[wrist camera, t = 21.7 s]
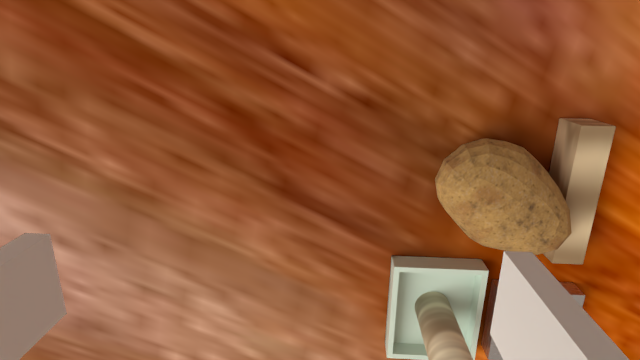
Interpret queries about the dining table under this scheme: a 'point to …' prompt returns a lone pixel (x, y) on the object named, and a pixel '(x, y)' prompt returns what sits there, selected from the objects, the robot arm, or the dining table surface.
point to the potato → (503, 197)
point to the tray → (432, 276)
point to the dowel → (440, 328)
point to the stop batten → (579, 179)
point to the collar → (487, 339)
